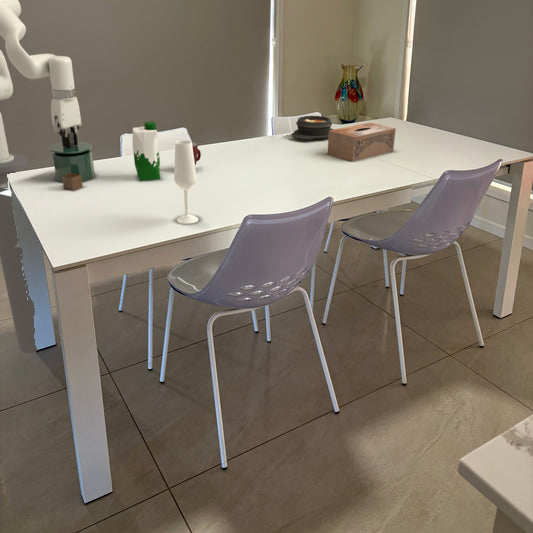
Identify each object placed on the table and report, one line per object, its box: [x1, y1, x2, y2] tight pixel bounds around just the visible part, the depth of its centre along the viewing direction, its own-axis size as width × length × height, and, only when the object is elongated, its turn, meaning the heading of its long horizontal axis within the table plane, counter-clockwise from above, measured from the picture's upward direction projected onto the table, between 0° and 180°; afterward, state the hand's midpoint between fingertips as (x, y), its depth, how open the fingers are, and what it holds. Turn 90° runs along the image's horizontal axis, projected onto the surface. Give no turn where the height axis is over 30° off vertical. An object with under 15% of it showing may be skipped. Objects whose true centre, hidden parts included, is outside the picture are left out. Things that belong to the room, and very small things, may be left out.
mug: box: [191, 141, 202, 166], centre depth 226 cm, size 10×8×10 cm
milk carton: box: [132, 121, 161, 182], centre depth 214 cm, size 9×9×20 cm
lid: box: [48, 130, 93, 154], centre depth 212 cm, size 15×15×6 cm
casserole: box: [290, 115, 335, 140], centre depth 275 cm, size 25×19×8 cm
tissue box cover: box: [327, 121, 396, 162], centre depth 250 cm, size 26×14×10 cm, turn 130°
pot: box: [52, 148, 96, 183], centre depth 216 cm, size 14×14×10 cm
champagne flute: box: [173, 139, 199, 225], centre depth 175 cm, size 7×7×24 cm
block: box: [62, 173, 83, 192], centre depth 205 cm, size 4×4×4 cm
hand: (70, 145), depth 213 cm, fingers closed on lid, 3 cm apart
